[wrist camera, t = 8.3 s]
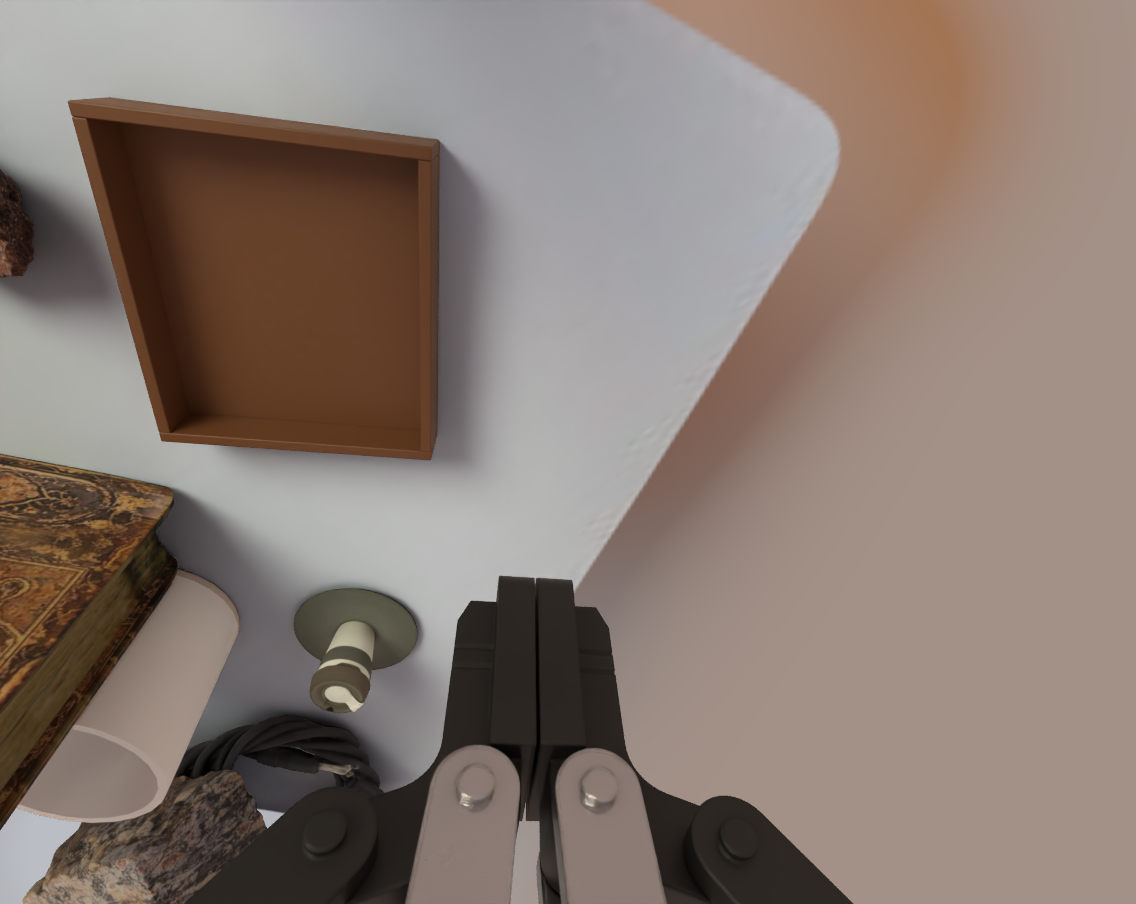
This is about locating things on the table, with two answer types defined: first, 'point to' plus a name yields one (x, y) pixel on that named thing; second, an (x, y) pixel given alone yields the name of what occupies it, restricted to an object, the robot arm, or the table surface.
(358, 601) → the olive disc with post
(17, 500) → the book
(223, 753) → the cable
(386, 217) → the tray
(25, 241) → the stone
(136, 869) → the stone block
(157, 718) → the mug
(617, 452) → the table surface
